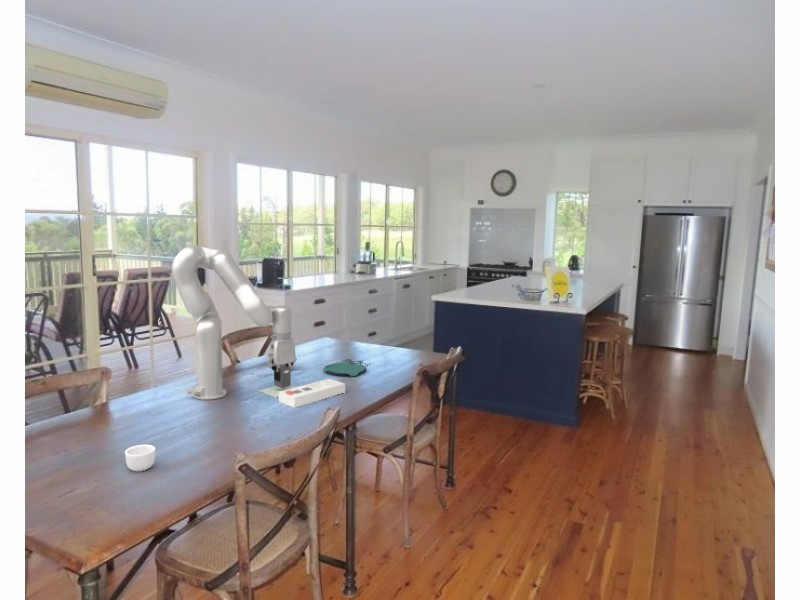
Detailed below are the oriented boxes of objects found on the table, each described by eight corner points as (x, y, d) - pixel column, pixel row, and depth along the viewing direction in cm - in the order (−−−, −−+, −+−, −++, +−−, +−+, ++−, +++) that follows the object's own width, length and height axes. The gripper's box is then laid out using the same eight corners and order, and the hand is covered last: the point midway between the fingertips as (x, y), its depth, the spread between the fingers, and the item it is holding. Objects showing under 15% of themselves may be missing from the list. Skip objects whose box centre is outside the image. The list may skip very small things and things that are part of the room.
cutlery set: (316, 374, 253) (316, 369, 252) (343, 360, 281) (343, 356, 281) (356, 380, 246) (356, 375, 246) (379, 365, 275) (379, 360, 274)
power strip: (294, 407, 207) (294, 395, 206) (278, 401, 214) (278, 389, 213) (345, 393, 227) (345, 381, 226) (329, 387, 233) (329, 376, 232)
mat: (276, 398, 218) (276, 396, 218) (259, 391, 226) (259, 390, 226) (304, 390, 228) (304, 389, 228) (286, 384, 236) (286, 383, 236)
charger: (282, 388, 223) (282, 369, 222) (274, 385, 227) (273, 366, 226) (290, 385, 226) (290, 367, 225) (282, 383, 230) (282, 364, 229)
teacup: (162, 465, 157) (161, 447, 156) (139, 476, 150) (138, 458, 149) (137, 458, 161) (136, 441, 160) (114, 468, 154) (113, 450, 153)
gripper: (270, 340, 215) (270, 385, 218) (304, 334, 227) (304, 377, 230) (259, 337, 220) (259, 381, 222) (293, 331, 232) (293, 373, 235)
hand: (282, 378), depth 226 cm, fingers closed on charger, 4 cm apart
